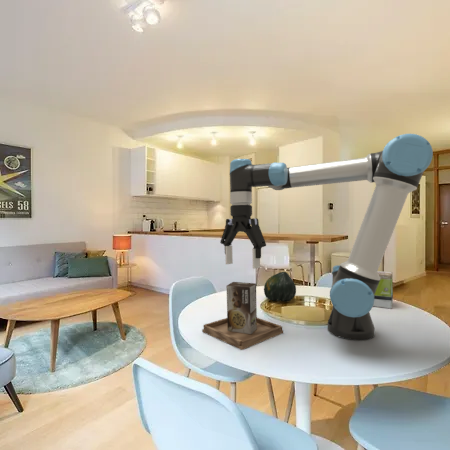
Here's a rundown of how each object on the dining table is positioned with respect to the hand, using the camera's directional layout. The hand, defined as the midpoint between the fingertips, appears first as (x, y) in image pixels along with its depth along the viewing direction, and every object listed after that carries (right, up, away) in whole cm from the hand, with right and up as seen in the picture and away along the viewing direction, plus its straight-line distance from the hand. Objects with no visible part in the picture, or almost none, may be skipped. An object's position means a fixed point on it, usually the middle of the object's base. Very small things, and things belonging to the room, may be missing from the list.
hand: (242, 265), depth 104 cm
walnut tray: (0, -23, +1) cm, 23 cm away
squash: (+21, -23, +41) cm, 51 cm away
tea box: (+62, -22, +33) cm, 74 cm away
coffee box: (0, -23, +1) cm, 23 cm away
